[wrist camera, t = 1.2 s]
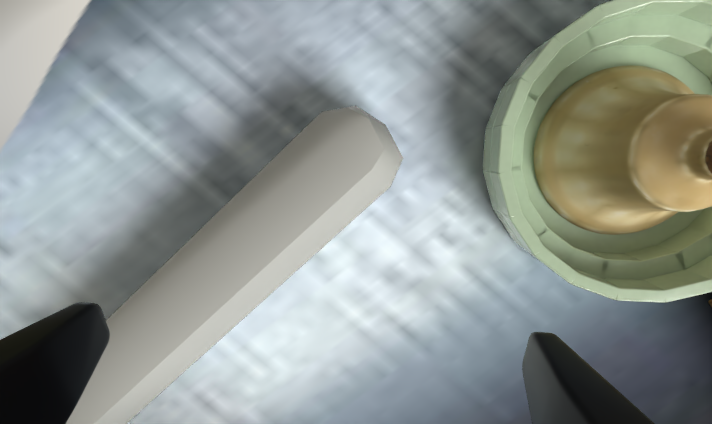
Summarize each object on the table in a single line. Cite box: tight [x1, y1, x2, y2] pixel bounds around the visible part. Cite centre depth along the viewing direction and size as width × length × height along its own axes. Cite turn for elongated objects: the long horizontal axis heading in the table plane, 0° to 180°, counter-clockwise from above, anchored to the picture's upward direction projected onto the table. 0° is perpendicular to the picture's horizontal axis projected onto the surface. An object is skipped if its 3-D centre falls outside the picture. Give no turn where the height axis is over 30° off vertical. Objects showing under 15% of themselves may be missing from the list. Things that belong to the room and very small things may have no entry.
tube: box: [66, 106, 403, 424], centre depth 21 cm, size 5×5×25 cm
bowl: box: [483, 0, 712, 303], centre depth 19 cm, size 13×13×4 cm
